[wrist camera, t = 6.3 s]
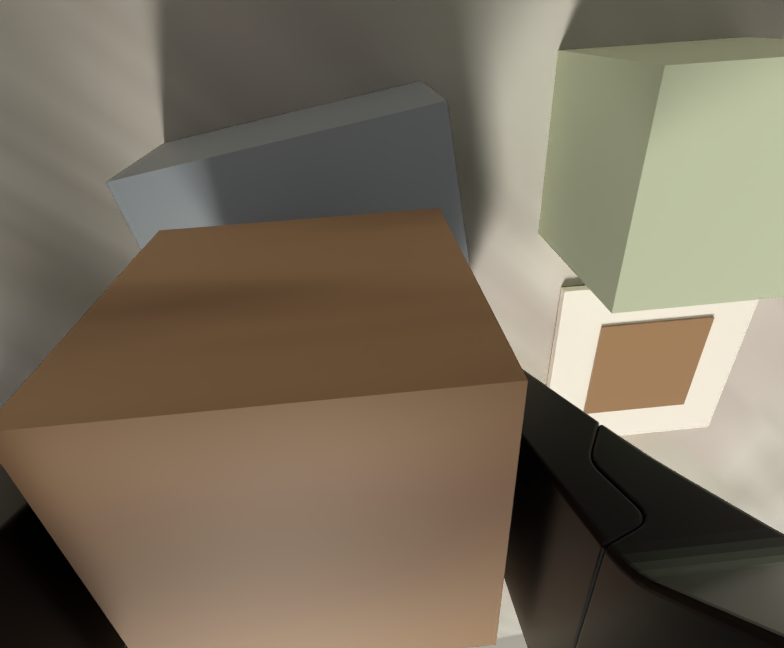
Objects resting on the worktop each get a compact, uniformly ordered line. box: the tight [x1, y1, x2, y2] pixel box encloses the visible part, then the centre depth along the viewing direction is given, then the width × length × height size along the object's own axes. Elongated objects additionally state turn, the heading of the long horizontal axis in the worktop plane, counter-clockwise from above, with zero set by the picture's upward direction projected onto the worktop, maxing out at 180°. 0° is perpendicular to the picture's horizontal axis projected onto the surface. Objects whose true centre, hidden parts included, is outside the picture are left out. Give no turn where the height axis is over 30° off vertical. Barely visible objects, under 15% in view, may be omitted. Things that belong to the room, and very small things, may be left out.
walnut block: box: [0, 208, 528, 648], centre depth 8 cm, size 5×5×5 cm
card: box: [547, 285, 759, 436], centre depth 18 cm, size 7×7×1 cm
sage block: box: [538, 37, 784, 313], centre depth 12 cm, size 5×5×5 cm
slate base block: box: [105, 81, 469, 265], centre depth 13 cm, size 7×7×4 cm
